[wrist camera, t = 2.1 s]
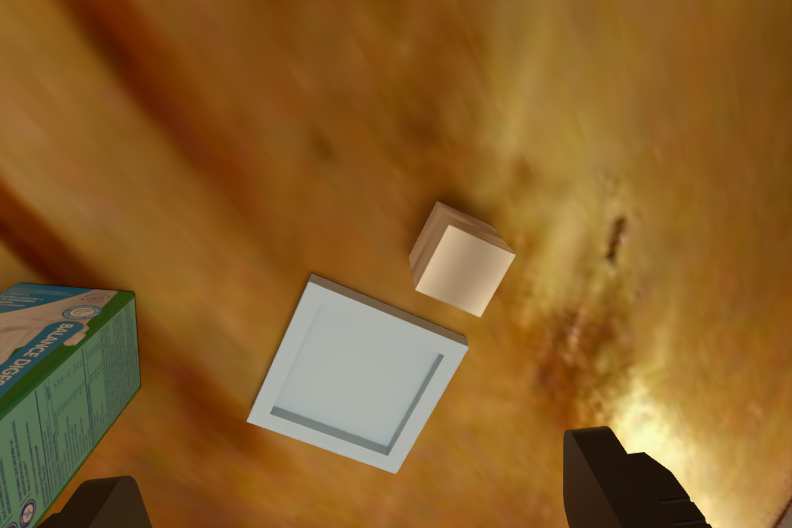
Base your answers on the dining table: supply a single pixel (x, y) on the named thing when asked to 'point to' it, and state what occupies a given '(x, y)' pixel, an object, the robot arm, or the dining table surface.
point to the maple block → (459, 259)
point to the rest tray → (356, 375)
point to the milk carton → (59, 388)
